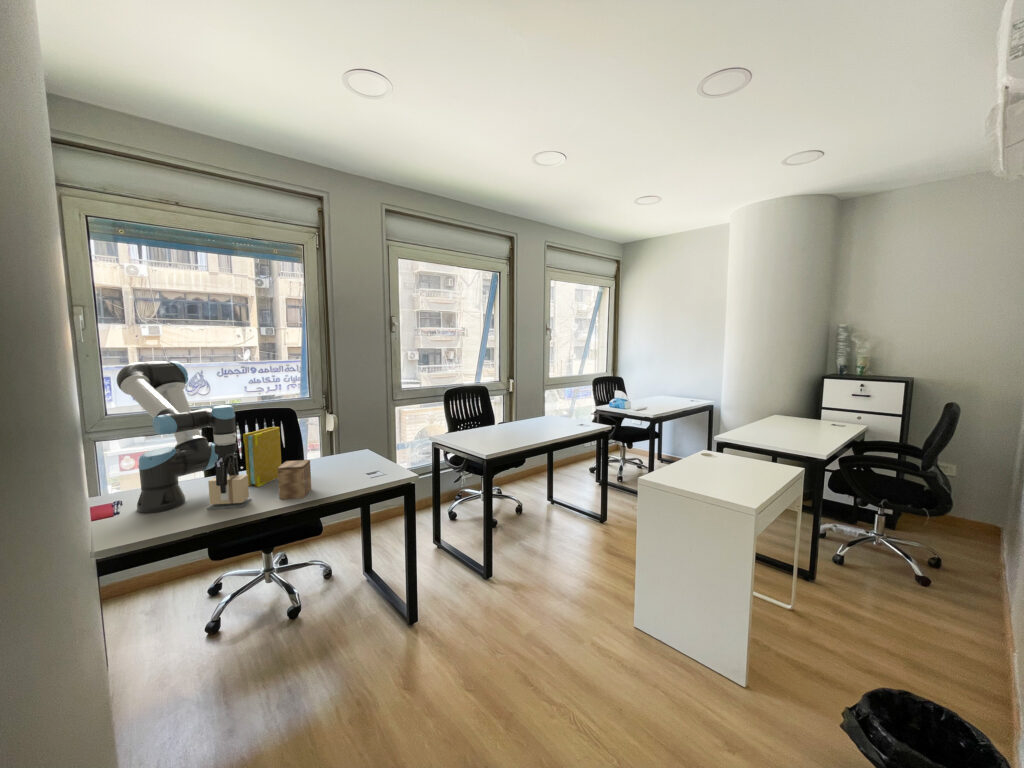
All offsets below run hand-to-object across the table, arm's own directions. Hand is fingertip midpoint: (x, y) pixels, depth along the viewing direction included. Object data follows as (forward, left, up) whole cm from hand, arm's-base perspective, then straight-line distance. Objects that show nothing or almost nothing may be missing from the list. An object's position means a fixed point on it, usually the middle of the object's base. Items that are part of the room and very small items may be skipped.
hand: (229, 496), depth 168 cm
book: (+3, +29, -4) cm, 30 cm away
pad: (0, 0, -3) cm, 3 cm away
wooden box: (+23, +8, -3) cm, 25 cm away
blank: (0, 0, -2) cm, 2 cm away
